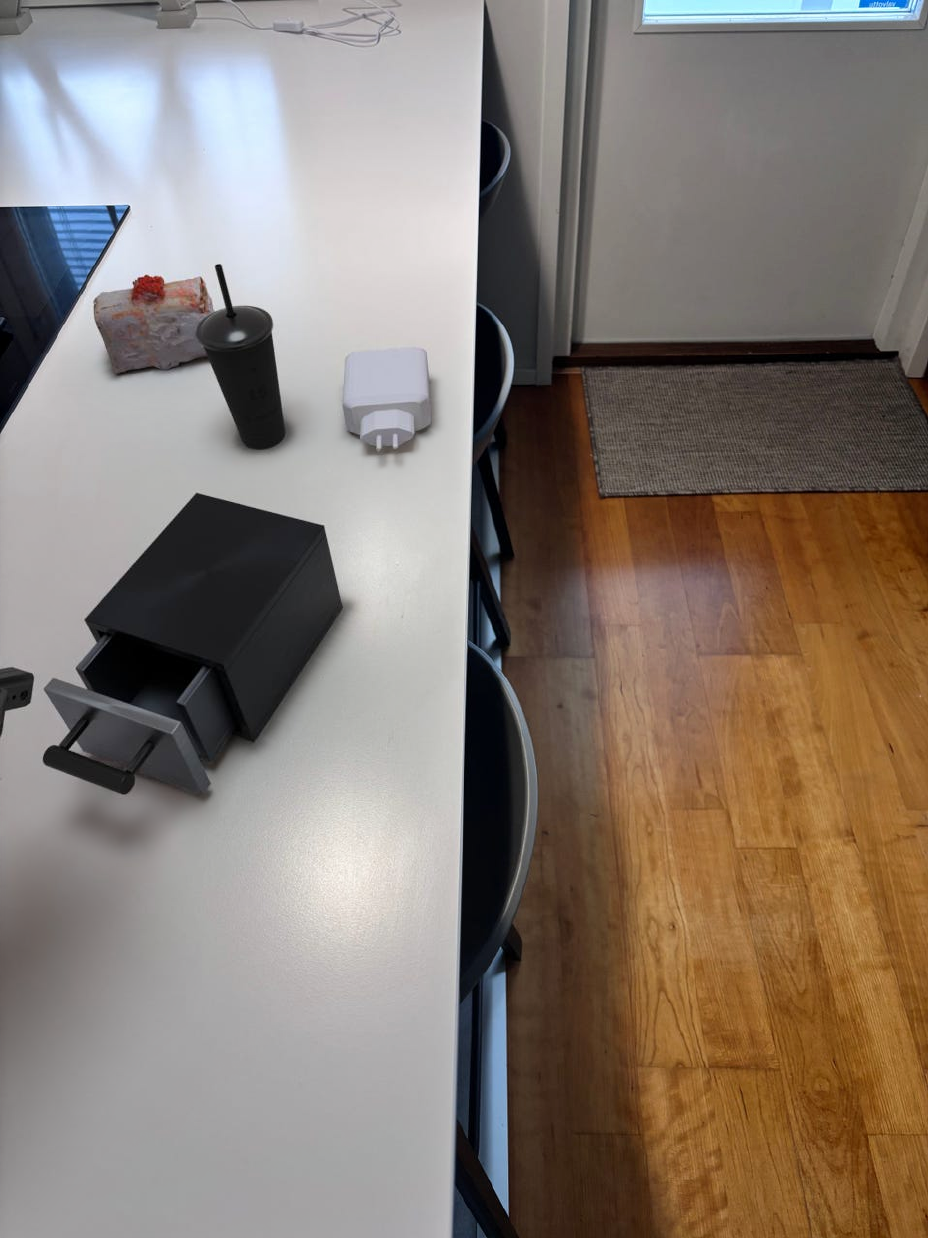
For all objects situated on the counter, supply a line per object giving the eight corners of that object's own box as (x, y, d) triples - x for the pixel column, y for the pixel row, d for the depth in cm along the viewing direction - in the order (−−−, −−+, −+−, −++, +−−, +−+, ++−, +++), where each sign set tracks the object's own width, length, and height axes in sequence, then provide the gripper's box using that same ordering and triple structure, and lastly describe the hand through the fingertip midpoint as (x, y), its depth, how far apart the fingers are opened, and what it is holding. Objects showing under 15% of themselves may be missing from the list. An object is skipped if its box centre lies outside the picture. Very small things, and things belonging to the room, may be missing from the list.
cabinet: (254, 742, 78) (223, 663, 70) (126, 698, 81) (83, 619, 74) (343, 607, 87) (324, 525, 79) (225, 574, 91) (196, 492, 83)
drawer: (171, 843, 71) (136, 783, 65) (48, 795, 74) (3, 734, 68) (295, 658, 82) (276, 592, 76) (184, 624, 86) (156, 557, 79)
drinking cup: (215, 436, 105) (162, 266, 90) (272, 406, 108) (230, 237, 93) (253, 467, 101) (204, 295, 86) (311, 435, 104) (274, 264, 89)
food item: (222, 328, 120) (201, 254, 113) (227, 362, 115) (206, 287, 107) (113, 348, 118) (84, 274, 111) (113, 384, 113) (83, 309, 106)
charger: (346, 470, 100) (350, 387, 110) (433, 464, 100) (429, 381, 110) (339, 434, 96) (343, 351, 106) (429, 427, 96) (425, 345, 106)
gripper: (-146, 703, 41) (119, 654, 57) (-356, 628, 45) (-51, 602, 61) (-163, 865, 42) (101, 771, 58) (-366, 779, 46) (-65, 714, 62)
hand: (22, 685), depth 60 cm, fingers closed
